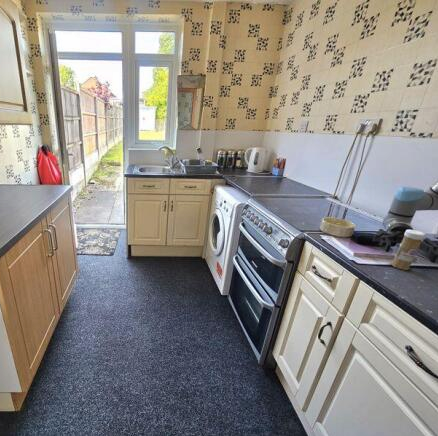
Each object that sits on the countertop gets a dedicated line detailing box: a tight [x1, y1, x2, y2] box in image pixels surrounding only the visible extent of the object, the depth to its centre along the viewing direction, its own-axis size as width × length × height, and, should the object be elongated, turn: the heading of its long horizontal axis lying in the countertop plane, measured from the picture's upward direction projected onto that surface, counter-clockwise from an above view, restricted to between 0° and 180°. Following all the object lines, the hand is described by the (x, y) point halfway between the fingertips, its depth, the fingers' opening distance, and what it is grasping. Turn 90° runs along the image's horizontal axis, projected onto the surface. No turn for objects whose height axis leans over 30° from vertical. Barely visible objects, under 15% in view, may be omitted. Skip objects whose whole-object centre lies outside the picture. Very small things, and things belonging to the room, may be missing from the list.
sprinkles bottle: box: [391, 229, 426, 271], centre depth 83 cm, size 5×5×13 cm
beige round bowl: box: [319, 216, 357, 238], centre depth 111 cm, size 12×12×5 cm
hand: (410, 253), depth 80 cm, fingers open, 10 cm apart
